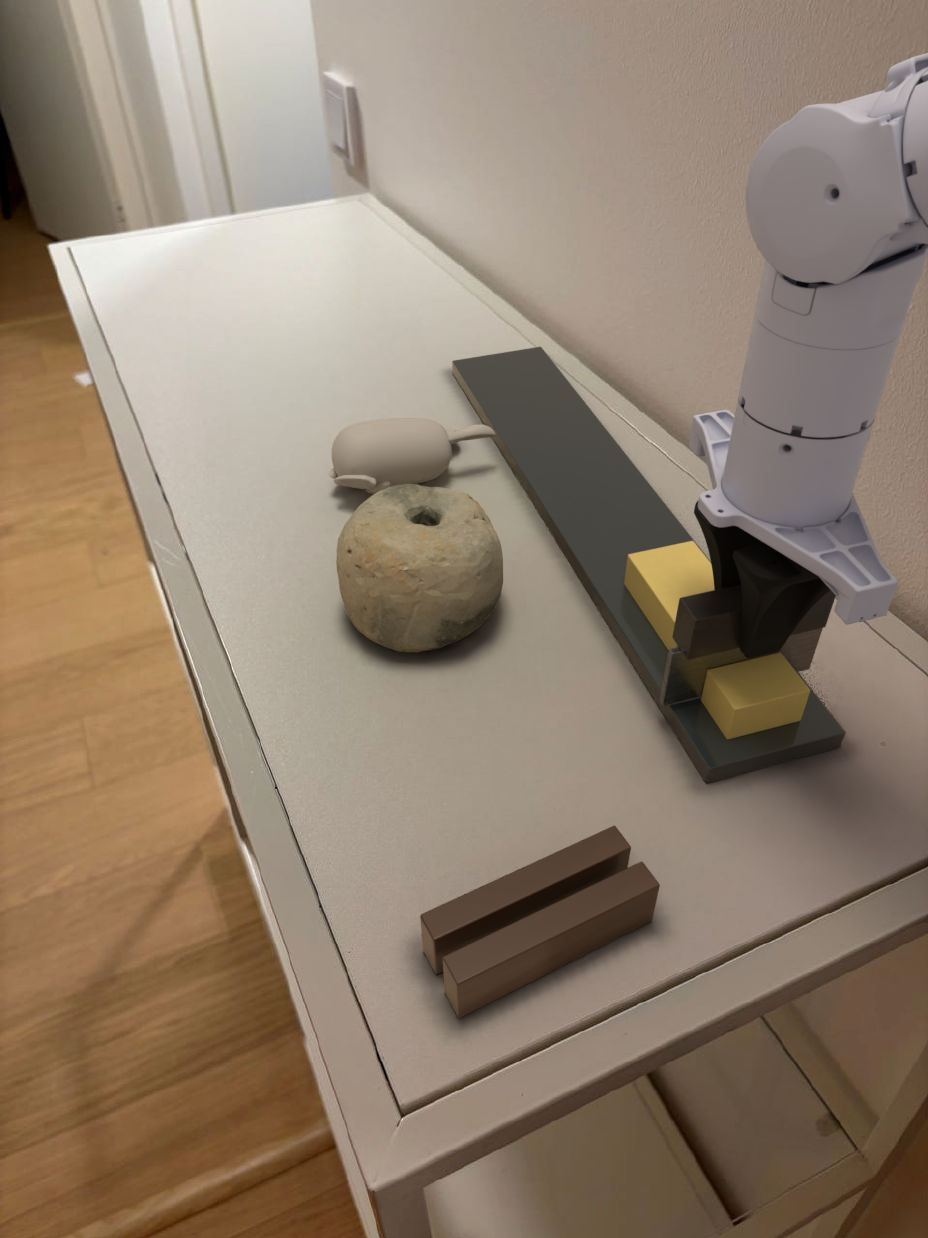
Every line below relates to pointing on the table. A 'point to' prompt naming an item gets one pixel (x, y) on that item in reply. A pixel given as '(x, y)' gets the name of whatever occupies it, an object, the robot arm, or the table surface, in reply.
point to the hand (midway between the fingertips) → (748, 634)
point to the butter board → (613, 539)
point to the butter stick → (667, 583)
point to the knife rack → (537, 919)
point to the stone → (419, 567)
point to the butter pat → (754, 695)
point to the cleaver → (727, 640)
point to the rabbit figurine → (395, 452)
